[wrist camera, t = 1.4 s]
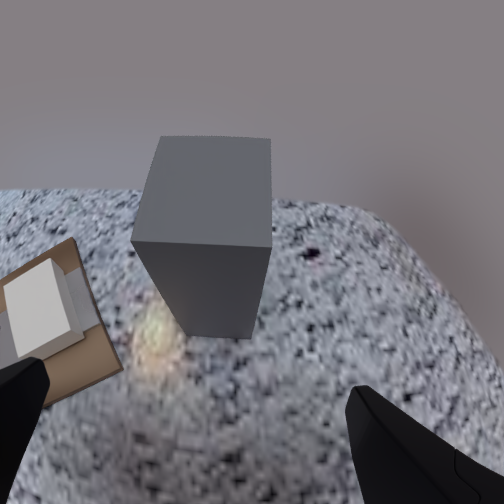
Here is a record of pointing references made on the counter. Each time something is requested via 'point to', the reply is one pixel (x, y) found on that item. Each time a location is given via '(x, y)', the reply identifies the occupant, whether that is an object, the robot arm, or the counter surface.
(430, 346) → the counter surface
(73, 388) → the board
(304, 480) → the counter surface
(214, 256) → the block
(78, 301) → the rail
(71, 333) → the terminal blocks
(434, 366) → the counter surface
